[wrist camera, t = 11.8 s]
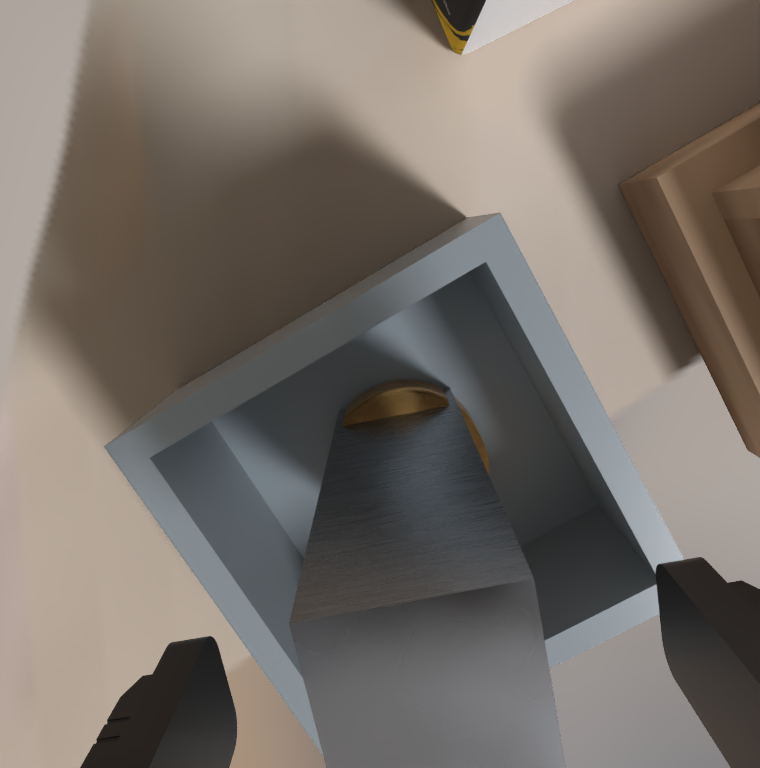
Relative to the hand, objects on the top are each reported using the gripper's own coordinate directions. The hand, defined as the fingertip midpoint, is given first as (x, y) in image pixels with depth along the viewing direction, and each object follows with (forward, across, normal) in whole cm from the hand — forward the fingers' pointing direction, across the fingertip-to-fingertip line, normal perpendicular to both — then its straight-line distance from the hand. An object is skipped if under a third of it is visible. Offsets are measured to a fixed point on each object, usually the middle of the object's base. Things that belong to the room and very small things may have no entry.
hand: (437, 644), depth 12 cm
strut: (+10, 0, 0) cm, 10 cm away
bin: (+11, 0, 0) cm, 11 cm away
